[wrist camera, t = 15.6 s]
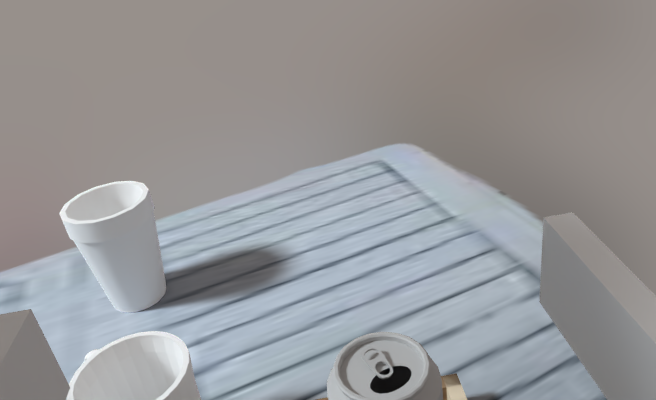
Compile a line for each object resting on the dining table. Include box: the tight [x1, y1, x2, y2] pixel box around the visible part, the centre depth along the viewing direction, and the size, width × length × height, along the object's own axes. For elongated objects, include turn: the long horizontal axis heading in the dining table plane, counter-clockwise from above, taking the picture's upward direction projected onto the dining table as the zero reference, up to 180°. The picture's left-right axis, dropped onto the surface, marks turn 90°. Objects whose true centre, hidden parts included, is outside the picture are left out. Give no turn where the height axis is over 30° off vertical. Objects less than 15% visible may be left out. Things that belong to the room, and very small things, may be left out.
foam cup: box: [59, 181, 167, 313], centre depth 65 cm, size 10×9×13 cm
